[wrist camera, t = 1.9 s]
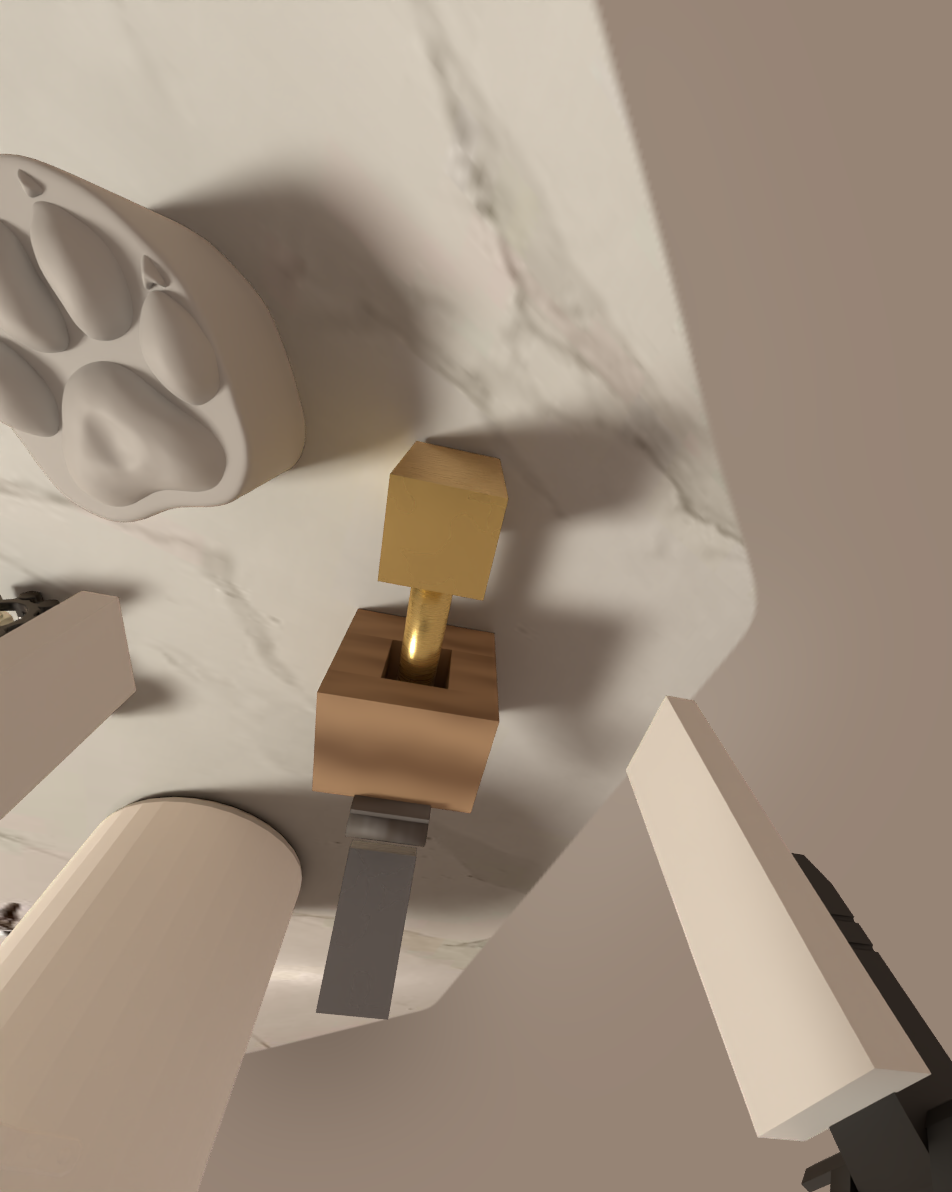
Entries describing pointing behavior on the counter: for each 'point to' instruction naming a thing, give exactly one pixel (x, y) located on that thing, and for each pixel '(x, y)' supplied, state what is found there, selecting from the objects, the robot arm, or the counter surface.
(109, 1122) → the bucket
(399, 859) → the lever
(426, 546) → the pin
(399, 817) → the block
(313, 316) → the counter surface
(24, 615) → the valve
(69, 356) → the lumpy-topped squat cylinder
